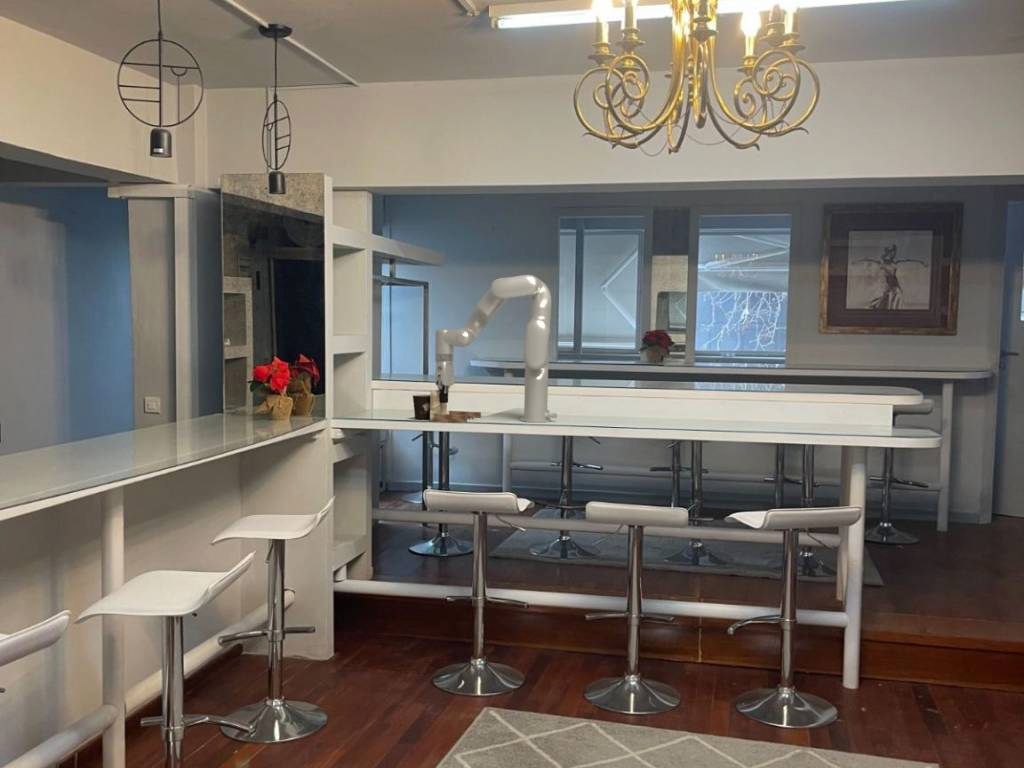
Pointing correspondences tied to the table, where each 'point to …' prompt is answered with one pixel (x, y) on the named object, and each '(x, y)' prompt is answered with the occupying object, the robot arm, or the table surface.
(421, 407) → the coffee mug
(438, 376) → the robot arm
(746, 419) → the table surface
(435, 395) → the ejector plate
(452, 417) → the mug holder
